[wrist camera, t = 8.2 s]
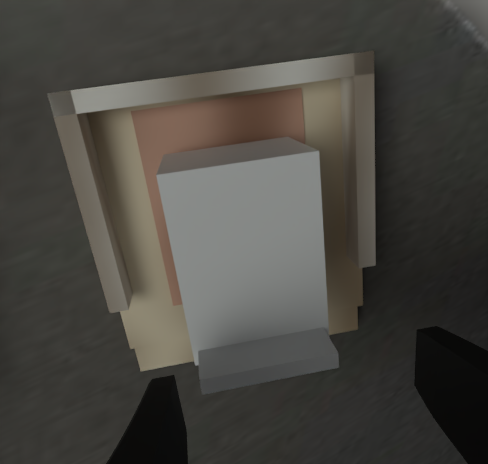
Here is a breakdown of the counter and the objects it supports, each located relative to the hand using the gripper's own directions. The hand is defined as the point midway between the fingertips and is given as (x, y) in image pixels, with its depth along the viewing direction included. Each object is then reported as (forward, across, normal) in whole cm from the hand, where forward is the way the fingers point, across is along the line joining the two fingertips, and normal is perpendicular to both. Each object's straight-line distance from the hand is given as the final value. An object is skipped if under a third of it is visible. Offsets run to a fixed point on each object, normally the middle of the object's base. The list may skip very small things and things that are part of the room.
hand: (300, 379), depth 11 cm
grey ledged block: (+8, +1, -2) cm, 8 cm away
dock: (+9, +1, -3) cm, 10 cm away
